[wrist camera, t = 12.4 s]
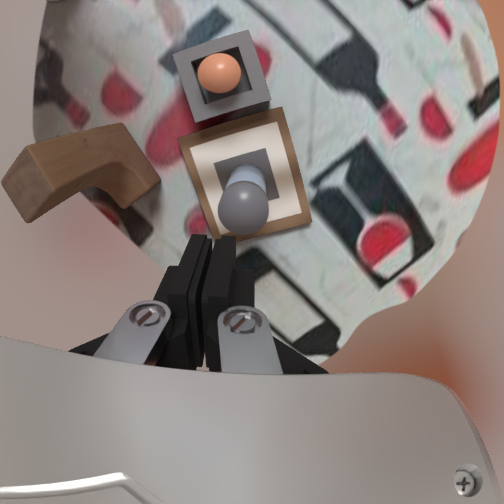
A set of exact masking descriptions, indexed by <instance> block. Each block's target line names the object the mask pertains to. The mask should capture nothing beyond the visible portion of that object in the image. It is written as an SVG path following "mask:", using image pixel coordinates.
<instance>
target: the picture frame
mask: <svg viewBox="0 0 504 504" xmlns="http://www.w3.org/2000/svg"><path fill="white" fill-rule="evenodd" d="M178 142H179V145H180V147H181V150H182V153H183V156H184V159H185V162H186V164H187V167H188V170H189V173H190V176H191V178H192V181H193V184H194V187H195V189H196V192H197V195H198V198H199V200H200V203H201V206H202V209H203V211H204V214H205V217H206V219H207V222H208V225H209V227H210V230H211V233H212V235H213V238H214V241H215V240H216V239H221V236H222V235H228V236H236V242H238V241H242V240H246V239H249V238H253V237H257V236H261V235H264V234H268V233H272V232H276V231H280V230H284V229H287V228H291V227H295V226H299V225H303V224H307V223H311V222H312V218H311V214H310V210H309V206H308V201H307V197H306V193H305V189H304V185H303V181H302V177H301V173H300V170H299V166H298V162H297V158H296V154H295V151H294V147H293V143H292V140H291V136H290V133H289V129H288V125H287V122H286V119H285V115H284V112H283V108H282V107H278V108H274V109H270V110H266V111H263V112H259V113H255V114H252V115H248V116H245V117H241V118H238V119H235V120H231V121H228V122H225V123H222V124H218V125H215V126H212V127H209V128H206V129H203V130H200V131H197V132H194V133H192V134H189V135H186V136H183V137H180V138H178ZM245 163H249V164H253V165H256V166H257V167H259V168H260V169H261V170H262V172H263V173H264V176H265V184H266V195H267V198H268V206H269V215H268V219H267V221H266V223H265V225H264V226H263V227H262V228H261V229H260V230H258V231H257V232H255V233H252V234H248V235H239V234H235V233H233V232H230V231H229V230H227V229H226V228H225V227H224V226H223V225H222V223H221V222H220V220H219V217H218V204H219V201H220V199H221V196H222V194H223V192H224V190H225V188H226V185H227V183H228V180H229V177H230V175H231V172H232V171H233V170H234V168H236V167H237V166H239V165H241V164H245Z"/></svg>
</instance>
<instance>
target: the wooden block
mask: <svg viewBox="0 0 504 504" xmlns="http://www.w3.org/2000/svg"><path fill="white" fill-rule="evenodd" d="M160 181H161V179H160V177H159V175H158V174H157V172H156V171H155V169H154V168H153V167H152V165H151V164H150V162H149V161H148V159H147V158H146V157H145V155H144V154H143V152H142V151H141V149H140V148H139V146H138V145H137V144H136V142H135V141H134V139H133V138H132V136H131V135H130V133H129V132H128V130H127V129H126V127H125V126H124V124H122V123H117V124H112V125H107V126H102V127H97V128H93V129H88V130H84V131H79V132H75V133H71V134H67V135H63V136H59V137H56V138H52V139H48V140H45V141H41V142H38V143H35V144H31V145H28V146H26V147H25V148H24V149H23V151H22V152H21V153H20V155H19V156H18V157H17V159H16V160H15V162H14V163H13V164H12V166H11V167H10V169H9V170H8V171H7V173H6V175H5V176H4V177H3V179H2V181H1V183H2V186H3V188H4V189H5V191H6V192H7V194H8V196H9V197H10V199H11V201H12V202H13V204H14V205H15V207H16V208H17V210H18V212H19V213H20V215H21V216H22V218H23V219H24V221H25V222H26V223H31V222H33V221H34V220H35V219H37V218H38V217H40V216H41V215H43V214H44V213H46V212H47V211H49V210H50V209H52V208H53V207H55V206H56V205H58V204H60V203H61V202H63V201H65V200H66V199H68V198H69V197H71V196H73V195H74V194H76V193H78V192H79V191H81V190H83V189H84V188H86V187H95V186H96V187H98V188H100V189H102V190H104V191H106V192H108V193H109V194H110V196H111V197H112V198H113V199H114V200H115V201H116V202H117V204H118V205H119V206H120V207H121V208H122V209H126V208H127V207H129V206H130V205H131V204H133V203H134V202H135V201H137V200H138V199H139V198H141V197H142V196H143V195H145V194H146V193H147V192H149V191H150V190H151V189H152V188H154V187H155V186H156V185H157V184H158V183H159V182H160Z"/></svg>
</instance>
